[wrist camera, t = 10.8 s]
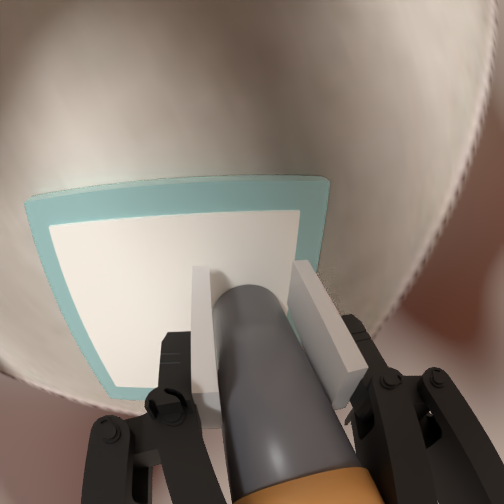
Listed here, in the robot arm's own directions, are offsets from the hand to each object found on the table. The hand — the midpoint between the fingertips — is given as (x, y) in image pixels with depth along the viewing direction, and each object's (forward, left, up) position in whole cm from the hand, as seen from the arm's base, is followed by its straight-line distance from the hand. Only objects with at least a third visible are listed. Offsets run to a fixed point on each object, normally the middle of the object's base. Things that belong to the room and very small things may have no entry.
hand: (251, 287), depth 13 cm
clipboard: (+4, -4, -3) cm, 6 cm away
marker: (+3, 0, -1) cm, 3 cm away
